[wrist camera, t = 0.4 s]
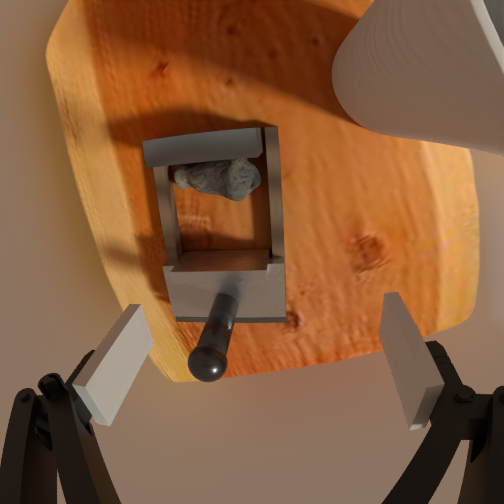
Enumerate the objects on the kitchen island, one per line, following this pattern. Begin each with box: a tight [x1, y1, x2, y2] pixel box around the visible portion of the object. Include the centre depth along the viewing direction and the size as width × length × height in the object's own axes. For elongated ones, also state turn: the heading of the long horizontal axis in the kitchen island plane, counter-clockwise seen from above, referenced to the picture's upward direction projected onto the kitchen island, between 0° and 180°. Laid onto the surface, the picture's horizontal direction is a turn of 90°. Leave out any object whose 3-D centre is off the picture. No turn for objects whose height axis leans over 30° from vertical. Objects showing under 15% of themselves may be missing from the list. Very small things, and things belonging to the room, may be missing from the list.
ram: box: [163, 249, 286, 382], centre depth 37 cm, size 8×16×18 cm, turn 94°
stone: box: [174, 158, 261, 201], centre depth 38 cm, size 10×5×8 cm
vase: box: [331, 0, 504, 156], centre depth 19 cm, size 14×14×32 cm
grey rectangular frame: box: [142, 127, 286, 323], centre depth 39 cm, size 26×16×9 cm, turn 4°
